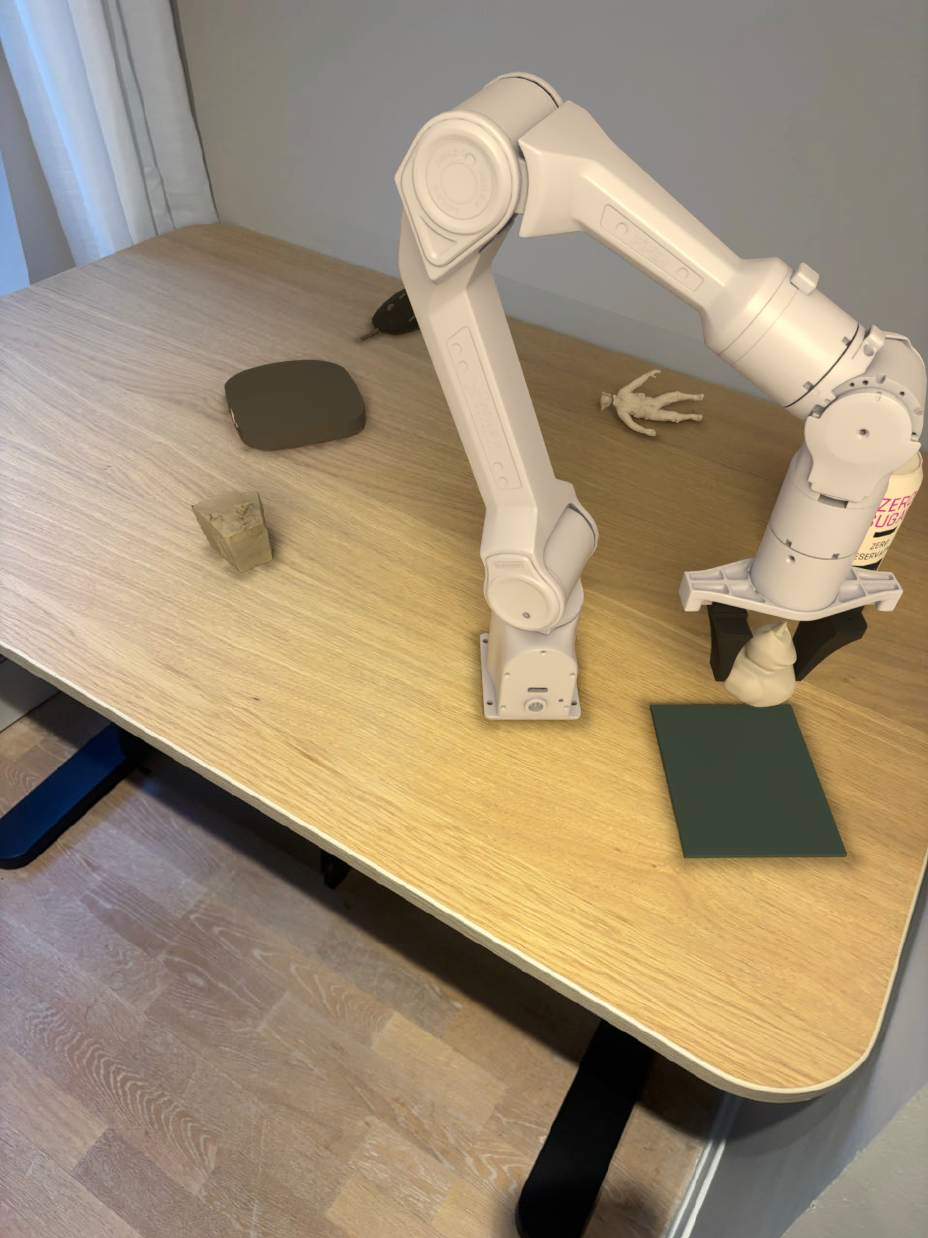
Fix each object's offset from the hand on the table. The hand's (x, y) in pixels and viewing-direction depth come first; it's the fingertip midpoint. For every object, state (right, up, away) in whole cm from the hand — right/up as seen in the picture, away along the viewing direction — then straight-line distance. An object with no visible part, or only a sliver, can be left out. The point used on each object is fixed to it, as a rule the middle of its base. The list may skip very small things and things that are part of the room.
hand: (755, 671), depth 65 cm
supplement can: (+13, +8, +20) cm, 25 cm away
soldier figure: (0, +28, +39) cm, 48 cm away
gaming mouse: (-30, +44, +54) cm, 76 cm away
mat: (0, -9, +3) cm, 9 cm away
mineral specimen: (-43, +9, +19) cm, 48 cm away
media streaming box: (-42, +28, +37) cm, 62 cm away
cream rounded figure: (0, -1, +2) cm, 2 cm away
